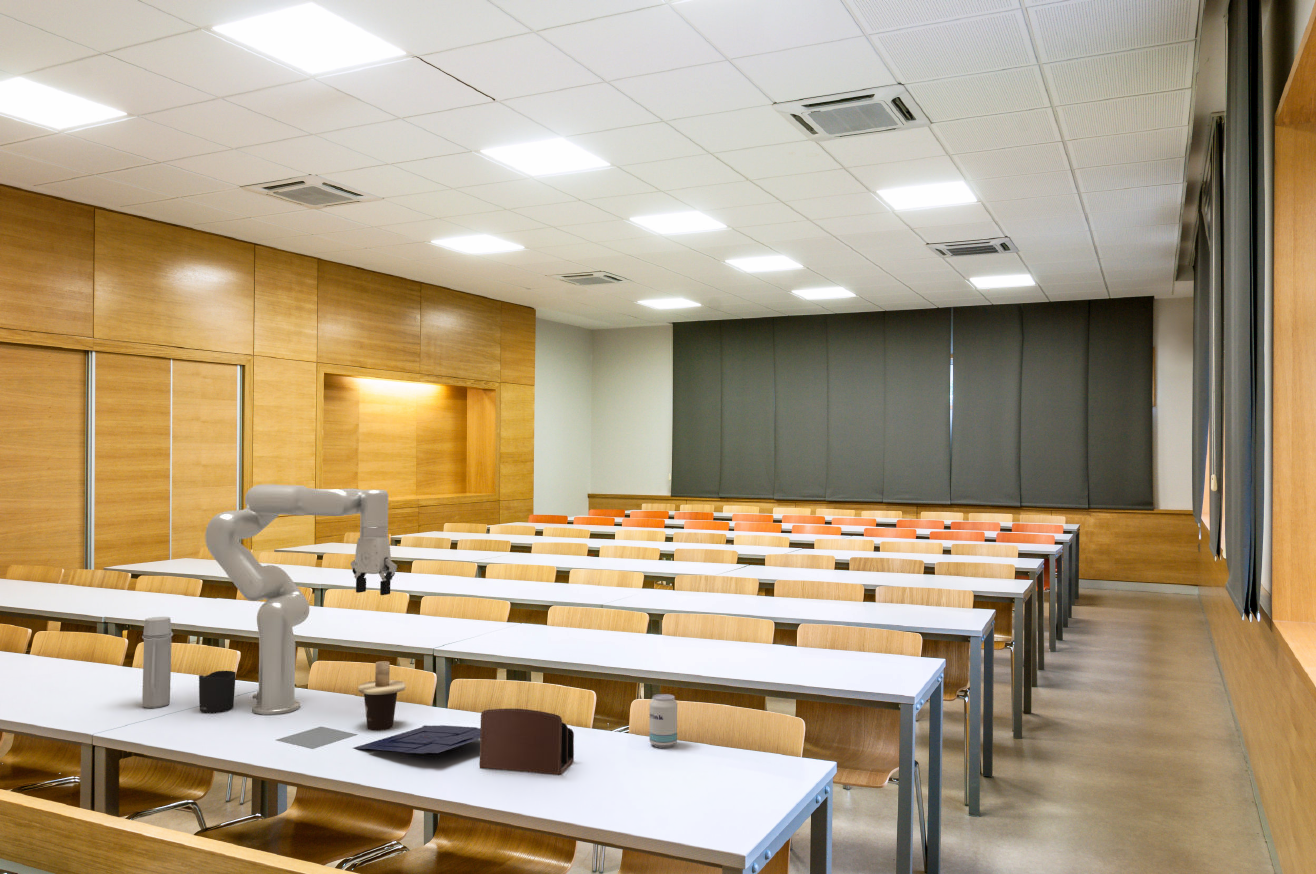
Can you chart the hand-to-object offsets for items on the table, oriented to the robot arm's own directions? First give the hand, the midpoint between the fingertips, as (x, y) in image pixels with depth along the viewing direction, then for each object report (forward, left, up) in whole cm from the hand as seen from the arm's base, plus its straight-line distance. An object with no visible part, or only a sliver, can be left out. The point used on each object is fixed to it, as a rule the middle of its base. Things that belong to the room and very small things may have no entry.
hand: (372, 593), depth 257 cm
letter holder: (+66, -13, -34) cm, 76 cm away
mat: (+8, -25, -33) cm, 42 cm away
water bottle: (-57, -28, -34) cm, 72 cm away
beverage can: (+86, +16, -34) cm, 94 cm away
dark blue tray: (+37, -16, -34) cm, 52 cm away
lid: (+14, -9, -23) cm, 29 cm away
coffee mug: (+14, -9, -34) cm, 37 cm away
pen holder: (-39, -21, -34) cm, 56 cm away
